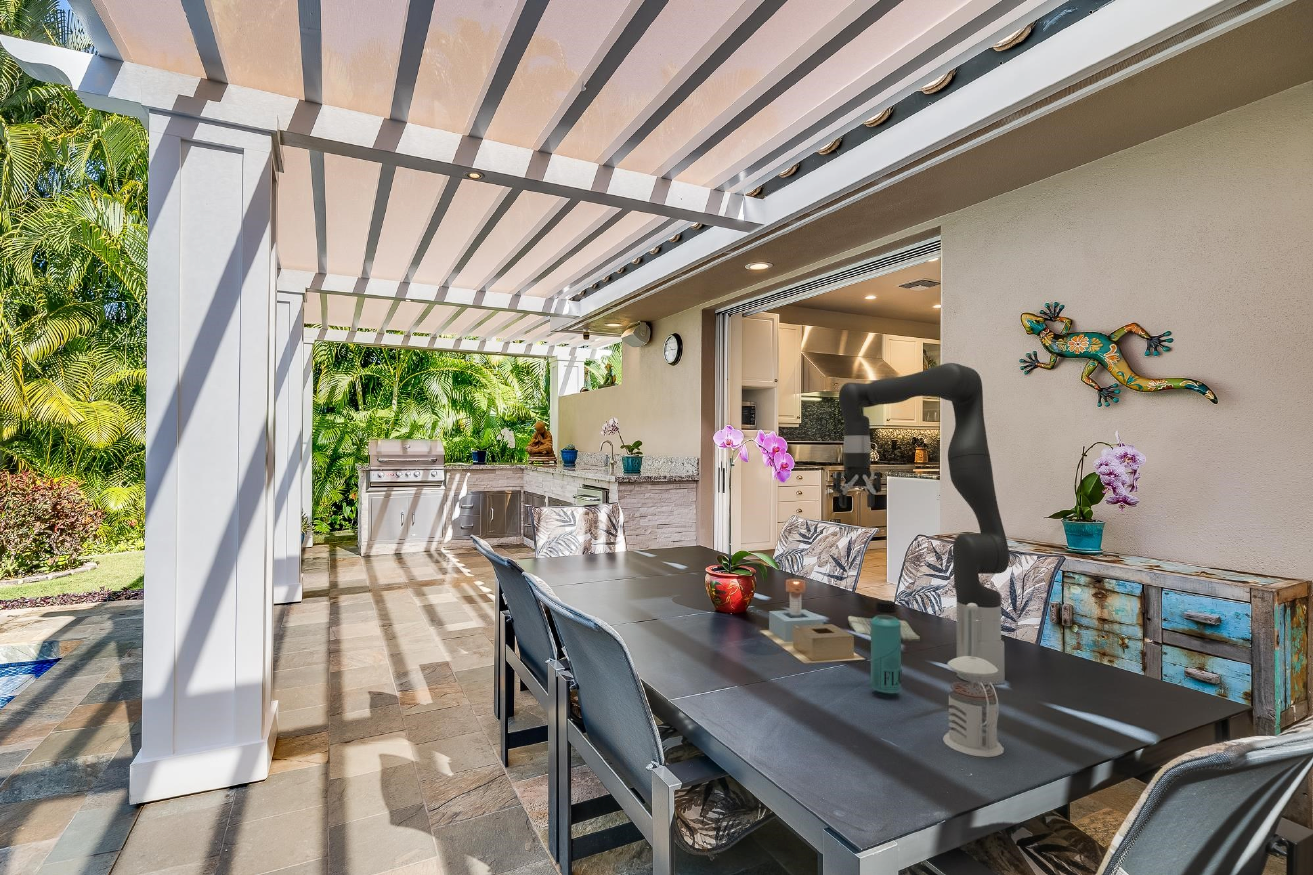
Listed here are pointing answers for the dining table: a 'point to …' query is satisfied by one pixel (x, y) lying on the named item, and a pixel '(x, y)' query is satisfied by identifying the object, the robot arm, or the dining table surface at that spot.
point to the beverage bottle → (886, 649)
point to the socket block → (790, 623)
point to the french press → (973, 708)
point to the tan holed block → (823, 642)
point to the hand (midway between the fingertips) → (857, 507)
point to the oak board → (804, 659)
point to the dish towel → (865, 627)
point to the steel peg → (795, 596)
